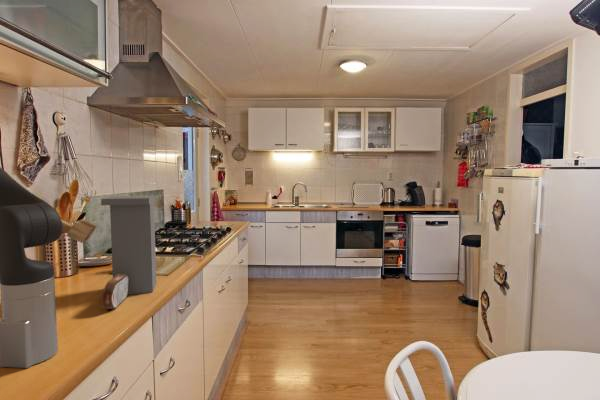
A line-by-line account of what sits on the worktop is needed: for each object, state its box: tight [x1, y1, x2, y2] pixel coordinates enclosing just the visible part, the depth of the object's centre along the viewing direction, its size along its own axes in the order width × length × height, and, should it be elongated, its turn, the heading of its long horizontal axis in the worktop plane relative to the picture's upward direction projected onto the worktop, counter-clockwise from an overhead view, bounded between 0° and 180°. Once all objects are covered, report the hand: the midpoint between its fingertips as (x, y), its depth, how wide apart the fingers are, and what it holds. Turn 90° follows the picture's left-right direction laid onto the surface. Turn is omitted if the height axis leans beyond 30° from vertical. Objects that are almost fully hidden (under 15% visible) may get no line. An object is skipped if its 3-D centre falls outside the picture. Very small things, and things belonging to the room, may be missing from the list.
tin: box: [101, 274, 129, 310], centre depth 107 cm, size 15×3×8 cm, turn 8°
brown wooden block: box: [61, 218, 98, 244], centre depth 115 cm, size 8×17×5 cm, turn 106°
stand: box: [100, 195, 157, 295], centre depth 120 cm, size 14×14×32 cm
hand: (55, 216), depth 114 cm, fingers closed on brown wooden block, 2 cm apart
